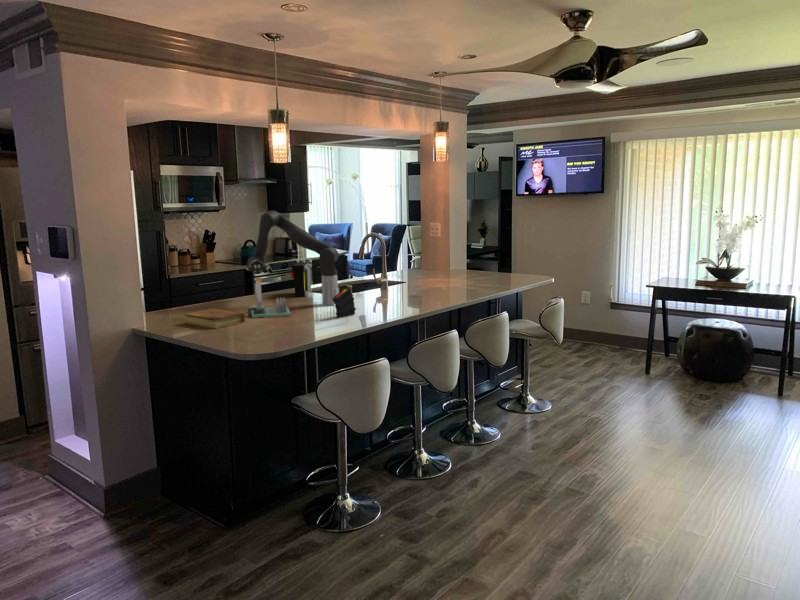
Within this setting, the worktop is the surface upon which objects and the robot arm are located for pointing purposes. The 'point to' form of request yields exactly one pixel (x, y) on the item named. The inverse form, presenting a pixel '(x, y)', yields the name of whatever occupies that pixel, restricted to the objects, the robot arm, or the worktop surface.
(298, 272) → the electrical component
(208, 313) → the diary
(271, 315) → the board
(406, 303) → the worktop surface
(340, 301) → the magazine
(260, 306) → the clip lever
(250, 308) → the heatsink
